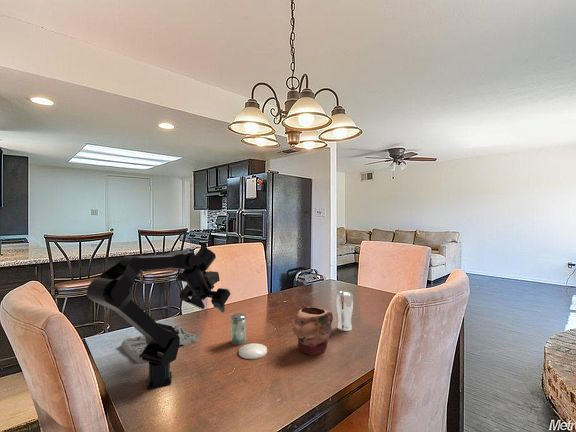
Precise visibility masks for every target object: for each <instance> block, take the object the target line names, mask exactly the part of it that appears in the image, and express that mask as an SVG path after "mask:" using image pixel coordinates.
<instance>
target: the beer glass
mask: <svg viewBox="0 0 576 432" xmlns="http://www.w3.org/2000/svg"><path fill="white" fill-rule="evenodd" d="M353 297H354V295H353V292H351V291H344V290H343V291H337V292H336V310H337V316H338V317H337V318H338V322H337V329H338V330H339V331H342V332H350V331H352V329H353V325H352V315H353V310H354V309H353V308H354V298H353Z"/></svg>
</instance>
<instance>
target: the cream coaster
mask: <svg viewBox="0 0 576 432" xmlns="http://www.w3.org/2000/svg"><path fill="white" fill-rule="evenodd" d="M267 353H268V348H267V346H265V344H261V343H248V344H243V345H241V347H239V349H238V356H239V357H241V358H243V359H246V360H257V359H261V358H263V357H265V356H266V355H267Z"/></svg>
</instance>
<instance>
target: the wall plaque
mask: <svg viewBox="0 0 576 432" xmlns="http://www.w3.org/2000/svg"><path fill="white" fill-rule="evenodd" d="M173 328H174V329H175V331H176V332H179V334H178V335H179V337H180V340H179V341H180V345H179V347H180V346H181V345H182V346H186V345H190V344H193V343H197V342H199V341H200V339H199V336H198V335H197V334H193V333H190V332H187V331H185V329H184V328H183V326H182V325H175V326H174V327H173ZM120 345H121V349H122V350H123V351H124V352H125V353H126V354H127V355H128V356H129V357H130V358H131V359H132V360H133V361H135V363H137V364H144V363H147V361H144V360H142V357H141V354H142V352H143V350H144V349H145V347H146V346H147V343H146V338H145V336H144V335H138V336H136V337H128V338H125V339H124V340H123V341H122V342H121V344H120ZM159 353H160V352H159Z"/></svg>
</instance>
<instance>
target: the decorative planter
mask: <svg viewBox="0 0 576 432" xmlns="http://www.w3.org/2000/svg"><path fill="white" fill-rule="evenodd" d="M333 320H334V316H333V313H332V311H330V310H326V309H325V308H321V307H316V306H303V308H301V309H299V310H298V312H297V315H296V317H295V320H293V322H292V332H293V333H294V335H295V336H296V337H297V347H298V350H299V351H300V352H302V353H305V354H307V355H311V356H316V355H320V354H323V353H324V352H325V351H326V350H327V348H328V343H329V338H330V334H331V332H332V327H333V325H332V324H333Z"/></svg>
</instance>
